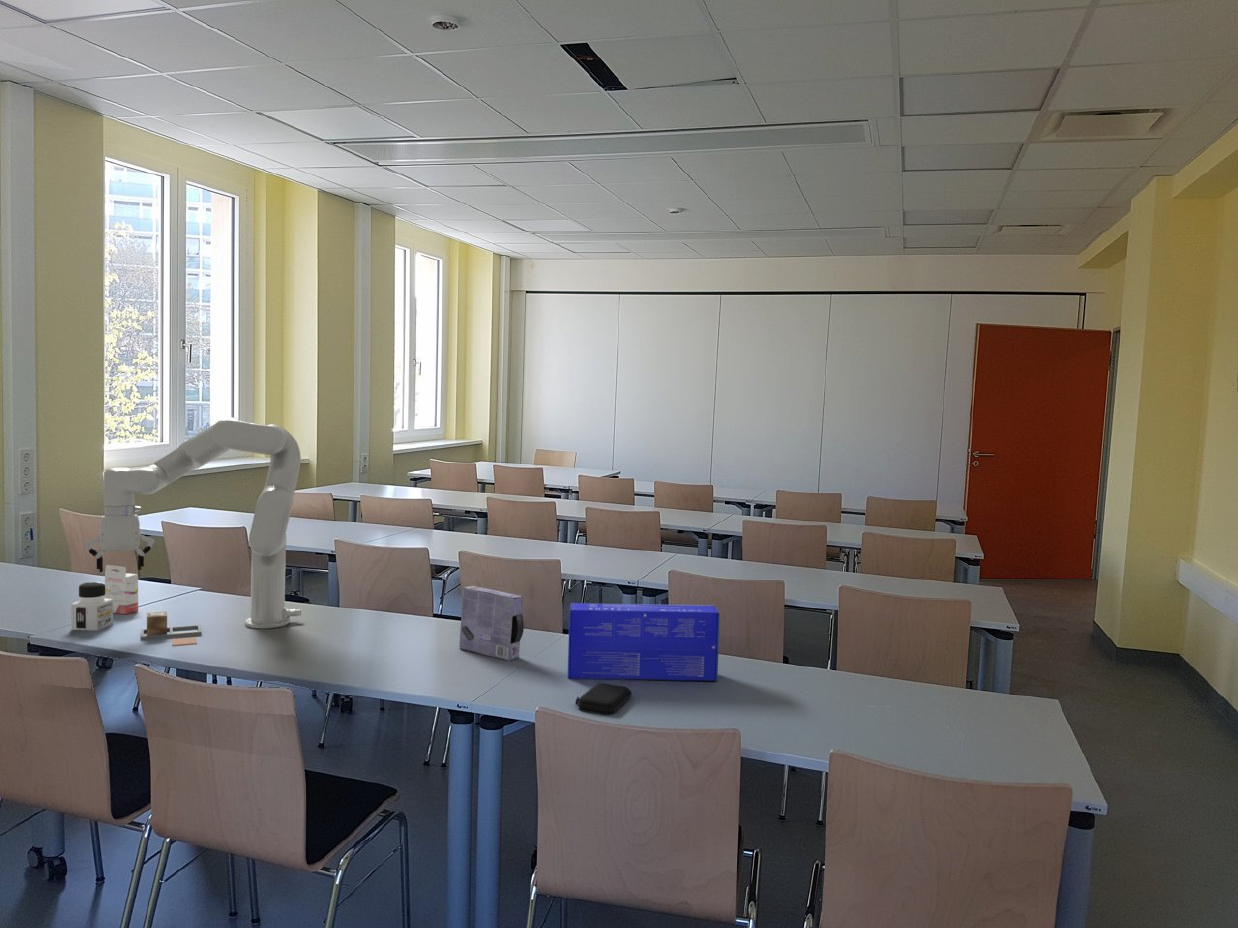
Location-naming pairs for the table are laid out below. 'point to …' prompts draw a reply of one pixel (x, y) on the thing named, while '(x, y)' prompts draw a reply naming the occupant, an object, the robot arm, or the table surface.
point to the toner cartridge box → (643, 642)
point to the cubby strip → (174, 632)
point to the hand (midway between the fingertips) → (120, 570)
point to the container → (91, 608)
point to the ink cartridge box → (121, 589)
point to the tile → (184, 641)
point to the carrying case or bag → (603, 698)
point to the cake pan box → (491, 622)
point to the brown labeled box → (156, 623)
